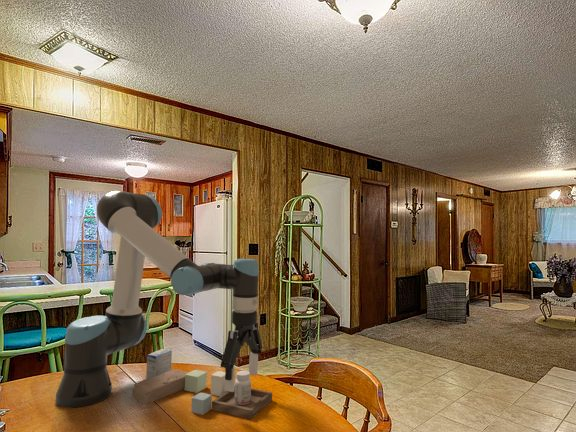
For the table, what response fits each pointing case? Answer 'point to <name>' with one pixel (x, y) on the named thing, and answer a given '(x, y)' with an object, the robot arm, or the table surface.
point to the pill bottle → (243, 388)
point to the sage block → (195, 381)
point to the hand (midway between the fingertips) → (242, 382)
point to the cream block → (218, 383)
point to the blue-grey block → (201, 403)
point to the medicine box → (158, 362)
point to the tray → (229, 406)
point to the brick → (159, 386)
